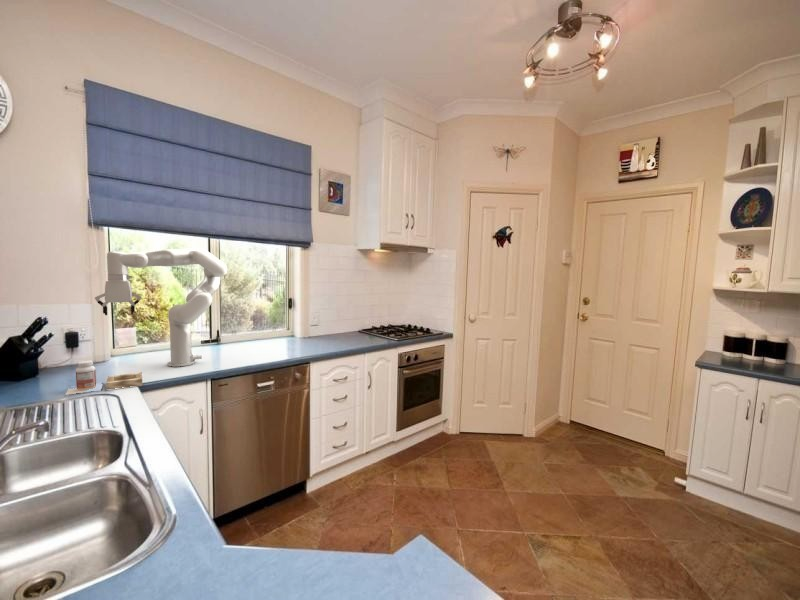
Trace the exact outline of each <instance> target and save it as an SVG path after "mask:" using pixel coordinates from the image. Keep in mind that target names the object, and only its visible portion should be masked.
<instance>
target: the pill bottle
mask: <svg viewBox="0 0 800 600" xmlns="http://www.w3.org/2000/svg"><path fill="white" fill-rule="evenodd" d="M96 370H97V369H96V367H95V366H94V361H93V360H82V361H79V362H78V361H77V368H76V370H75V381H76V385H75V386H76V387H77V390H88V389H93V388H95V387H96V384H97V375H96V374H97V372H96Z"/></svg>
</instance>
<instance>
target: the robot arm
mask: <svg viewBox="0 0 800 600" xmlns="http://www.w3.org/2000/svg"><path fill="white" fill-rule="evenodd" d="M106 265H107V267H106V268H107V271H106V272H107V280H106V281H105V285H104V286H105V287H104V293H101V294H99V295H96V296H95V297H94V300H95V301H96V302H97V303H98V304H99V305H100V306H101V307H102V314H104V315H105V316H108V306H107V305H108V304H110V303H129V304H130V315H133V314H134V313H136V312H135V309H136V307H135V306H136V305H137V304H138V303H139V302H140V301H141V299H142V296H141V295H139V294H137V293H134V292H133V290H132V289H133V287H132V283H131V280H132V279H133V275H129V269H128V267H130V268H133V269H137V268H138V269H141V268H145V267H178V266H189V265H192V266H193V265H199V266H201V267H202V268H203V273H204V275H203V277H204V278H203V279H202V281H201V282H200V283H199V284H198V285H197V286H196V287H195V288H194V289H193V290H191V291H190V292H189V293H188V294H187V295H186V298H185V301H186V303H184V304H176V305H173V306H172V307H170V308H169V310H168V313H167V314H168V316H167V317H168V323H169V343H170V344H169V345H170V361H168V362H167V364H166V365H167V366H168V367H171V366H172V368H176V367H177V368H180V366H181V367H188V366H192V365H194V364H195V363H196V360H202V358H203V357H202V355H199V354H198V355H193V353H192V326H191V324H192V323H194V322H195V321H197V320H198V319H199V318H200V317H201V316H202V315H203V314H204V313H205V312H206V311H207V310H208V309H209V308H210V306H211V305H212V302H213V295H214V293H216V292H217V290H218V289H219V287H220V283H221V278H223V277H224V276H226V275H227V273H228V266H227V264H226V263H225V262H223V261H222V260H221V259H220V258H218V257H216V256H215V255H214V254H212V252H210V251H208V250H207V249H205V248H202V247H194V248H192V247H191V248H174V249H172V248H170V249H163V250H154V251H153V250H152V251H134V252H125V251H115V250H114V251H108V252H107V253H106ZM133 297H135V298H136V300H135V301H133ZM101 298H104V301H105V302H103V301H101Z"/></svg>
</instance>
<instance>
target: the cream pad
mask: <svg viewBox="0 0 800 600" xmlns="http://www.w3.org/2000/svg"><path fill="white" fill-rule="evenodd" d="M88 390H89V389H88ZM83 392H87V390H77V388H75V389H74V388H73V389H69V388H68V389H67V390H66V391H65V395H66V396H70V395H69V394H74V395H77V394H76V393H81V394H84V393H83ZM65 395H64V396H65Z"/></svg>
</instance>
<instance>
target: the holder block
mask: <svg viewBox="0 0 800 600" xmlns="http://www.w3.org/2000/svg"><path fill="white" fill-rule="evenodd" d="M130 386H136V387H142V386H143V373H142V372H134V373H125V374H114V375H107V378H106V381H105V390H106V389H114V390H116V389H115V388H121V389H123V388H122V387H129V388H131V387H130Z"/></svg>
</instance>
